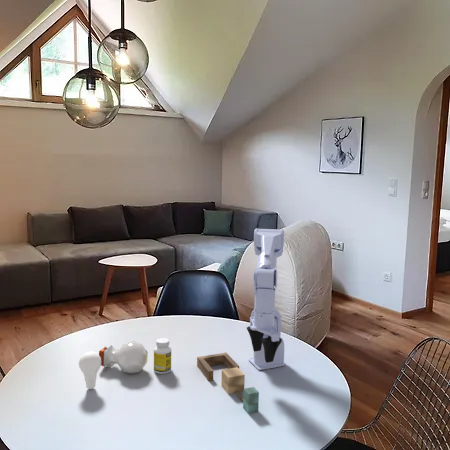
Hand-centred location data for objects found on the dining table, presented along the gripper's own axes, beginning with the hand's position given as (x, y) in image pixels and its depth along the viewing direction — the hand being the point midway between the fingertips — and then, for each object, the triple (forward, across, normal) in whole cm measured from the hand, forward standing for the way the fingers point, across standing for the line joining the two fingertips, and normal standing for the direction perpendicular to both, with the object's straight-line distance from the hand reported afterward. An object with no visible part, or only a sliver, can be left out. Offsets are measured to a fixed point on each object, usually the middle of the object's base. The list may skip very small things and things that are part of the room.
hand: (263, 356), depth 130 cm
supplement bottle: (+10, -21, -24) cm, 33 cm away
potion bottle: (+10, -25, -35) cm, 44 cm away
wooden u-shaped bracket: (+10, -14, -8) cm, 19 cm away
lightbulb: (+10, -17, -46) cm, 50 cm away
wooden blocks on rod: (+10, +2, -8) cm, 13 cm away
